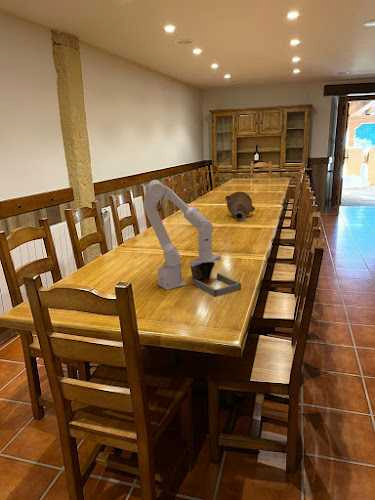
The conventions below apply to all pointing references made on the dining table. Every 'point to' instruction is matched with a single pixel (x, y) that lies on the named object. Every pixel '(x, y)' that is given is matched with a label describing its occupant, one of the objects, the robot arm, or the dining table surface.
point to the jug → (239, 205)
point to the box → (196, 272)
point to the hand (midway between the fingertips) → (206, 278)
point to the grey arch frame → (216, 292)
